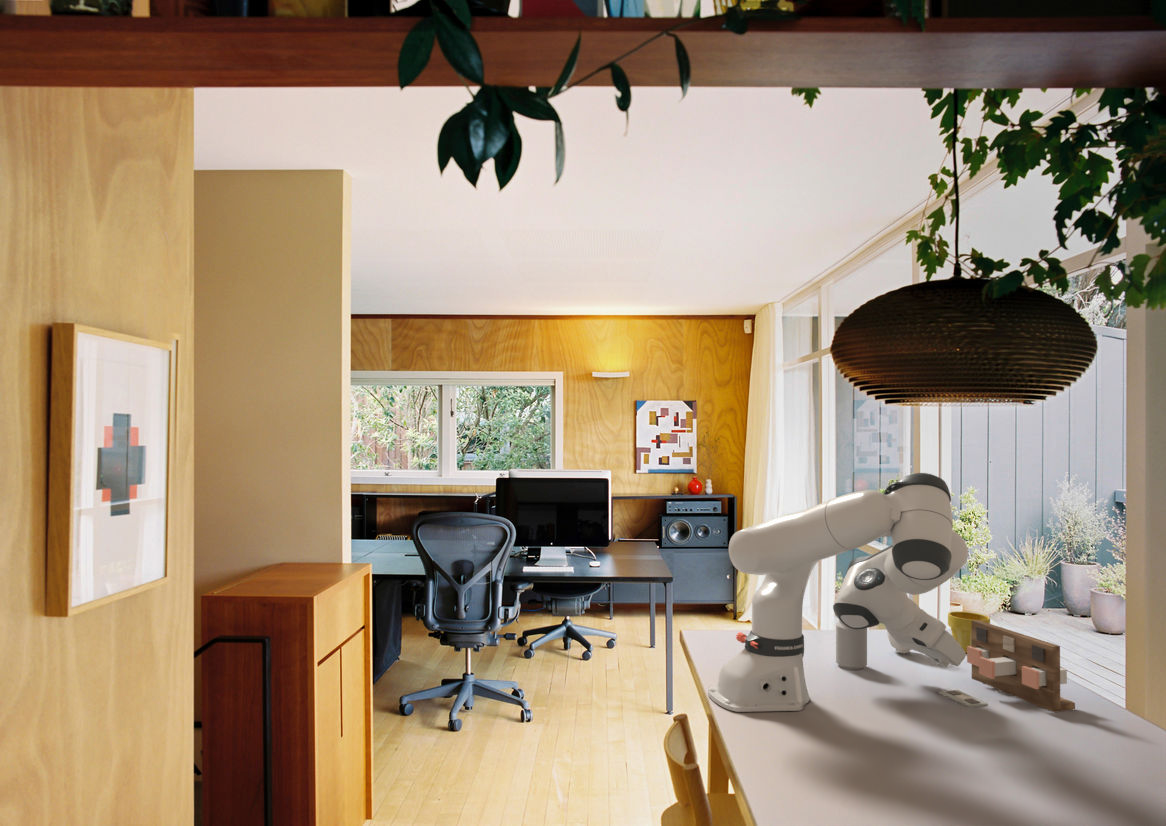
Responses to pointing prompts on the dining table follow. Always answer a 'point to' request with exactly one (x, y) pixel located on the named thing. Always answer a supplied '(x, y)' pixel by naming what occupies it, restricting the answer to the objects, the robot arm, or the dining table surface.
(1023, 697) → the console
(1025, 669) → the button near
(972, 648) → the button far
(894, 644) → the cream tall ovoid
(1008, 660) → the button middle
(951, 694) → the card
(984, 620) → the plant pot
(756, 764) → the dining table surface
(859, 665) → the can
